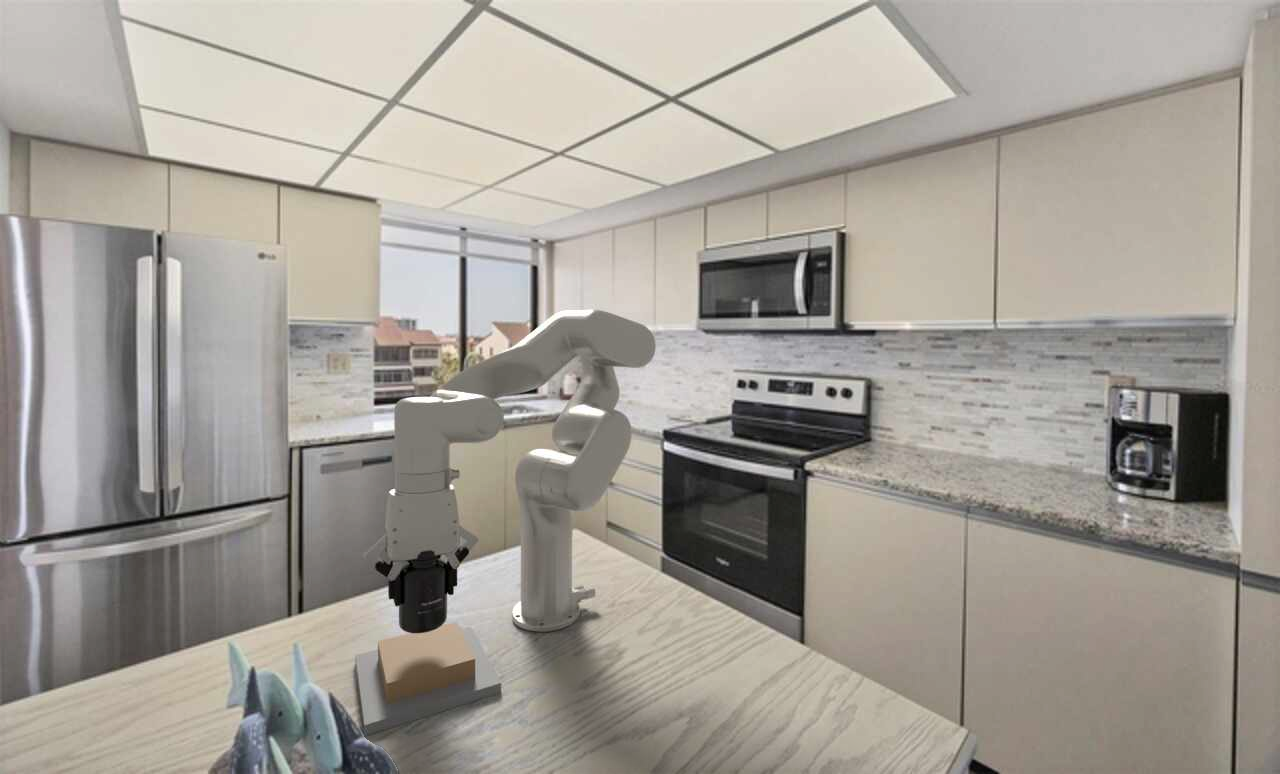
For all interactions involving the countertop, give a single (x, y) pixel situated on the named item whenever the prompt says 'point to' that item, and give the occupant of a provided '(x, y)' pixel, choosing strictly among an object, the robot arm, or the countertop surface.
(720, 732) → the countertop surface
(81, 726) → the countertop surface
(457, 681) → the pedestal
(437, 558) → the supplement bottle
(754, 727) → the countertop surface
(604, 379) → the robot arm
